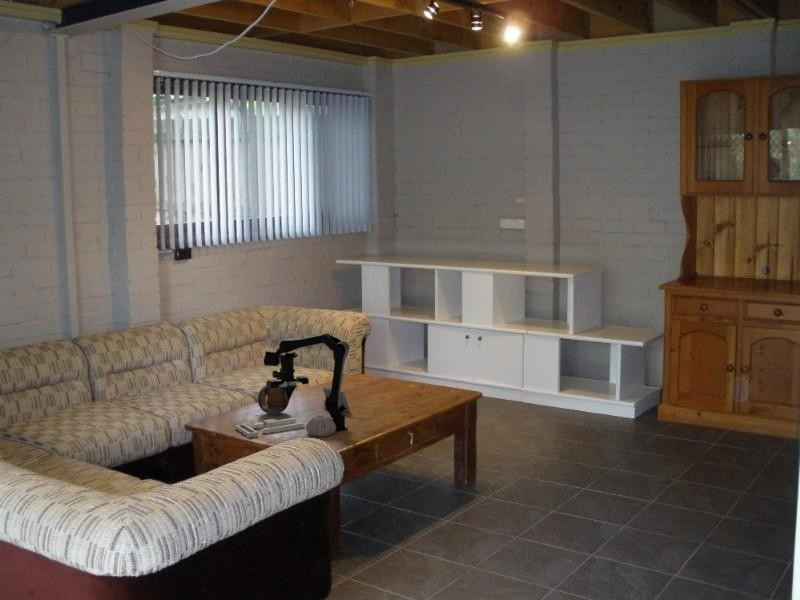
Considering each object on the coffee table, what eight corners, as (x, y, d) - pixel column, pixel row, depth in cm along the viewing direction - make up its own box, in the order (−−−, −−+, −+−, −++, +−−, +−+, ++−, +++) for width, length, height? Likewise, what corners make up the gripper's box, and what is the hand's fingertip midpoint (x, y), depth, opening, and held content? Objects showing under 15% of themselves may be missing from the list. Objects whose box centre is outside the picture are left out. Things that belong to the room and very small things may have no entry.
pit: (257, 436, 393) (257, 432, 393) (249, 438, 391) (249, 433, 391) (244, 428, 407) (244, 423, 406) (235, 429, 405) (235, 425, 404)
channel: (304, 427, 407) (304, 423, 407) (263, 434, 397) (262, 429, 397) (294, 422, 417) (293, 417, 416) (253, 428, 406) (253, 424, 406)
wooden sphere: (278, 408, 442) (277, 378, 440) (295, 414, 431) (295, 383, 429) (252, 413, 432) (251, 383, 430) (269, 419, 421) (268, 388, 419)
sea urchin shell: (341, 431, 401) (341, 413, 400) (328, 439, 389) (327, 421, 387) (314, 428, 406) (314, 411, 405) (300, 436, 393) (300, 418, 392)
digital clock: (351, 412, 434) (350, 390, 433) (334, 414, 430) (333, 392, 429) (337, 404, 448) (337, 383, 447) (320, 407, 444) (320, 385, 443)
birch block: (278, 430, 404) (278, 421, 403) (267, 431, 401) (267, 423, 401) (273, 427, 408) (273, 418, 408) (263, 429, 405) (263, 420, 405)
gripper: (298, 361, 417) (299, 394, 420) (261, 365, 408) (261, 399, 410) (309, 365, 408) (309, 399, 410) (270, 370, 398) (271, 404, 400)
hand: (288, 400), depth 408 cm, fingers closed
